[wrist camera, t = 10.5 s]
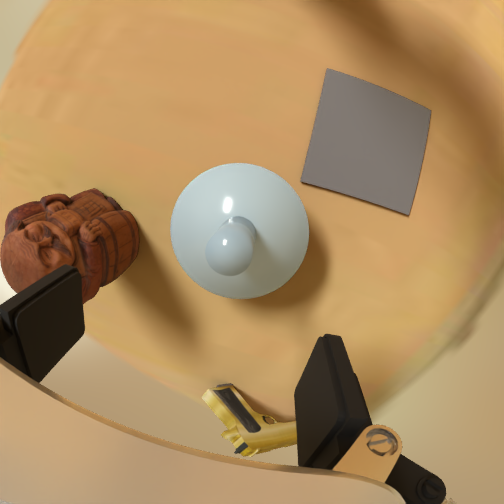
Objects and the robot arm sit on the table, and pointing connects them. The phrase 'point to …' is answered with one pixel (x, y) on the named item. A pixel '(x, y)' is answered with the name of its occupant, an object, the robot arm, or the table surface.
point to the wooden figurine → (69, 240)
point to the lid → (239, 231)
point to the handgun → (247, 423)
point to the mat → (367, 142)
